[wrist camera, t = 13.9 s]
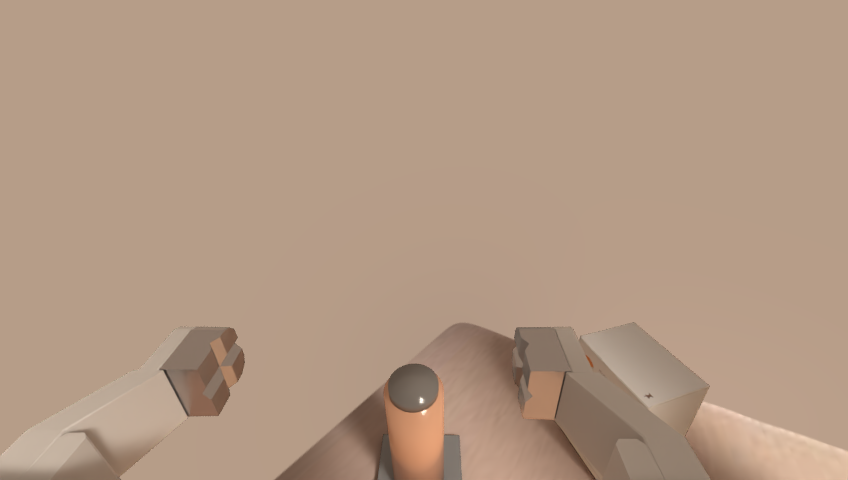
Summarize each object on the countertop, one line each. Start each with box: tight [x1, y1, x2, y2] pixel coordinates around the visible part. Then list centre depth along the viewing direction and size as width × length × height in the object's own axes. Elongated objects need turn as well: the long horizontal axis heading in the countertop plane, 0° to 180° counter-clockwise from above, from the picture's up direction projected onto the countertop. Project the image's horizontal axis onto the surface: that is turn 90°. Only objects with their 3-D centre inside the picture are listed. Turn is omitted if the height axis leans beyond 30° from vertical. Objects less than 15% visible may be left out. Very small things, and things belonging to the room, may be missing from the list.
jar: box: [384, 364, 444, 480], centre depth 33 cm, size 5×5×13 cm
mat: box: [378, 434, 462, 480], centre depth 36 cm, size 8×8×1 cm
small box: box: [562, 322, 710, 480], centre depth 35 cm, size 8×6×13 cm
